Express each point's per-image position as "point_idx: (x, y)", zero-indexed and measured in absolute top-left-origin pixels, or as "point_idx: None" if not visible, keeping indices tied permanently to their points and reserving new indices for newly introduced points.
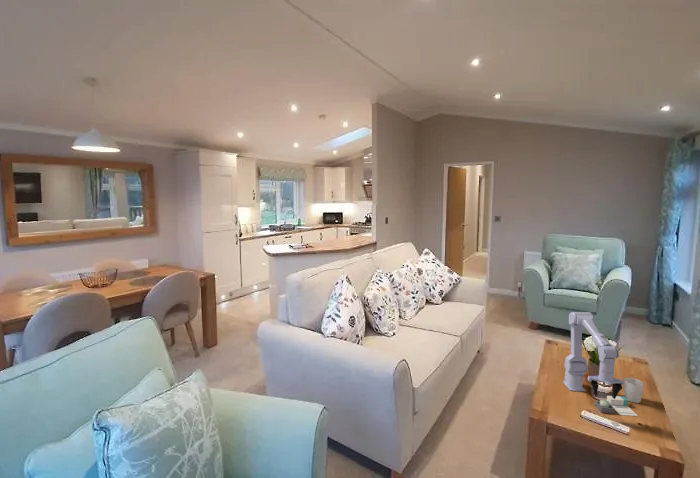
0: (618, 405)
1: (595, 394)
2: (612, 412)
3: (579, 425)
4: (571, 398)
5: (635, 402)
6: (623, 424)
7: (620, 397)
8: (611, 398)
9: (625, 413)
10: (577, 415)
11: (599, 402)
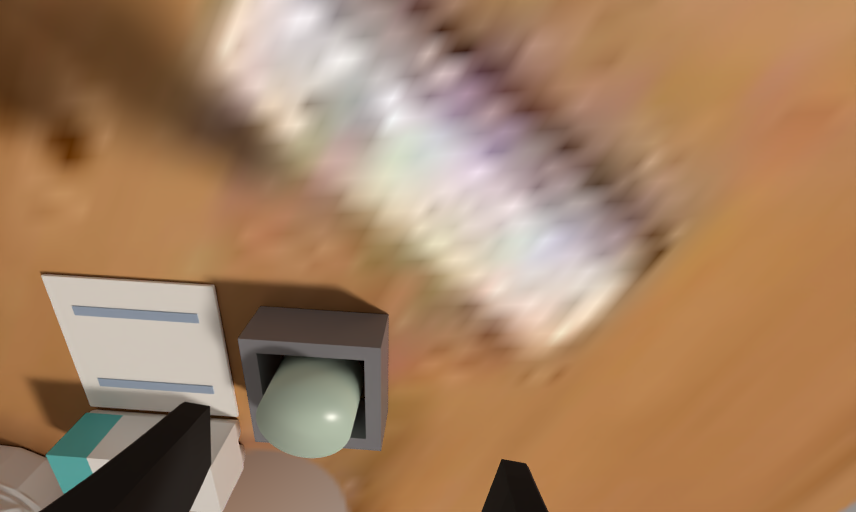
0: None
1: (541, 500)
2: (274, 313)
3: (830, 60)
4: None
5: (9, 448)
6: (250, 120)
7: None
8: None
9: (150, 307)
10: (683, 261)
11: None
